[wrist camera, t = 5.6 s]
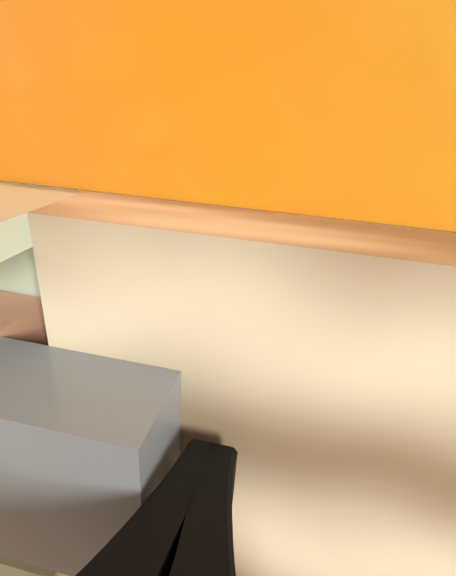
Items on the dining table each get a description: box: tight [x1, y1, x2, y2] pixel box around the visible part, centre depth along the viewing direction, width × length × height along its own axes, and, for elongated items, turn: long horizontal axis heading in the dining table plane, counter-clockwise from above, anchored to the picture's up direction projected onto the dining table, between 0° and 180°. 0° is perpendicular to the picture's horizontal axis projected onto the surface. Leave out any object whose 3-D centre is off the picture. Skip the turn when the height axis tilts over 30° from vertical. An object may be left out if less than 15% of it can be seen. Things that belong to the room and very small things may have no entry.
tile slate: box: [0, 337, 181, 576], centre depth 10 cm, size 5×5×2 cm
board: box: [27, 191, 456, 576], centre depth 11 cm, size 12×14×2 cm
